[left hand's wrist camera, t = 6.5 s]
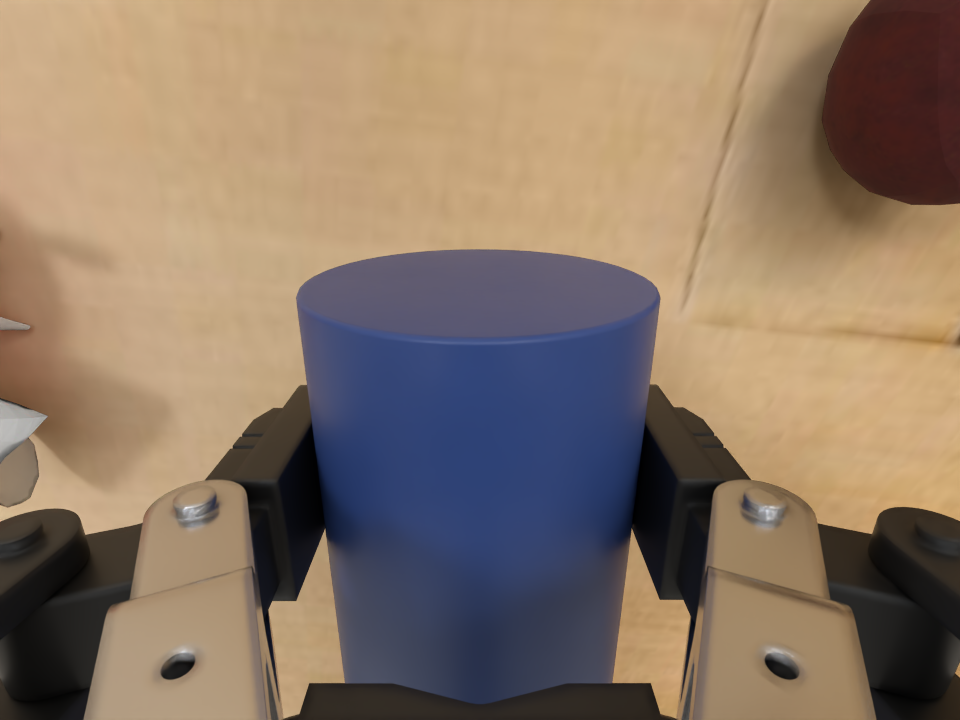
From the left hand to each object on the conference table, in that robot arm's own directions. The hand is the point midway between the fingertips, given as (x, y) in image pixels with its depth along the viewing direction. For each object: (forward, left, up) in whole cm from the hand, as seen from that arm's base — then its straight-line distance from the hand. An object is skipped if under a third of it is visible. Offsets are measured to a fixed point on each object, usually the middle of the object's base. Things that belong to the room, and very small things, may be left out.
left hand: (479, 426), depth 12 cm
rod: (+2, +9, -2) cm, 9 cm away
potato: (-17, -3, -13) cm, 22 cm away
